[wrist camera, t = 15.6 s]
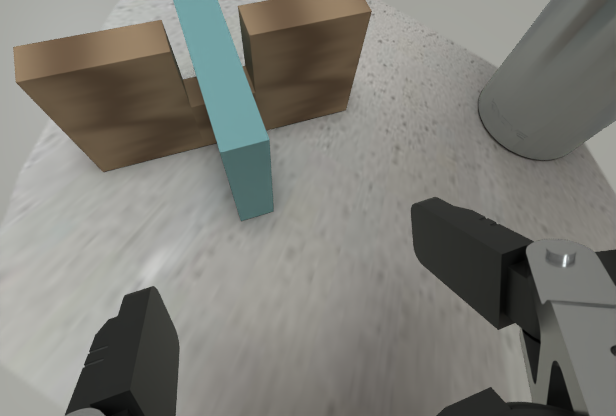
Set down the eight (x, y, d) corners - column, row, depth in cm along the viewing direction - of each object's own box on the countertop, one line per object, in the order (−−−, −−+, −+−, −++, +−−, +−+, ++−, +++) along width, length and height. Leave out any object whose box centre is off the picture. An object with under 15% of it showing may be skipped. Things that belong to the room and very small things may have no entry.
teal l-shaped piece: (273, 211, 26) (269, 139, 18) (240, 221, 26) (220, 152, 17) (226, 76, 31) (205, -34, 22) (198, 82, 30) (164, -28, 22)
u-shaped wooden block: (335, 88, 31) (356, -16, 23) (345, 110, 30) (371, 11, 22) (98, 145, 27) (13, 46, 19) (103, 171, 27) (15, 82, 18)
